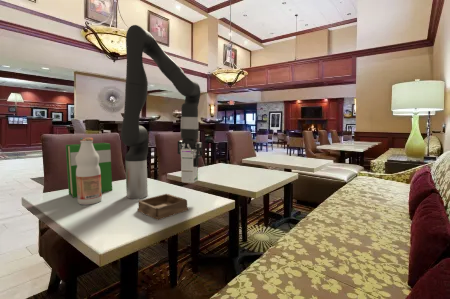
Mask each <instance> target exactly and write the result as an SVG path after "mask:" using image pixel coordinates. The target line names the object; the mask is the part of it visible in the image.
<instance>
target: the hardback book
mask: <svg viewBox="0 0 450 299" xmlns="http://www.w3.org/2000/svg"><path fill="white" fill-rule="evenodd" d="M92 143H93V142H92ZM80 146H81V143H79V144H78V143H77V144H65V154H66V155H65V158H66V172H67V184H68V185H67V186H68V196H71V195H72V198H73V199H74V198H75V199H76V198H77V182H76V168H77V163H76V160H75V159H76V155H77V154H78V152H79V150H80ZM93 146H94V149H95V151H96V152H97V153H98V155H99V158H100V160H99V167H100V171H101V190H102V193H108V192H113V177H112V175H113V174H112V173H113V172H112V154H111V152H112V151H111V143H108V142H96V143H93Z"/></svg>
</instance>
